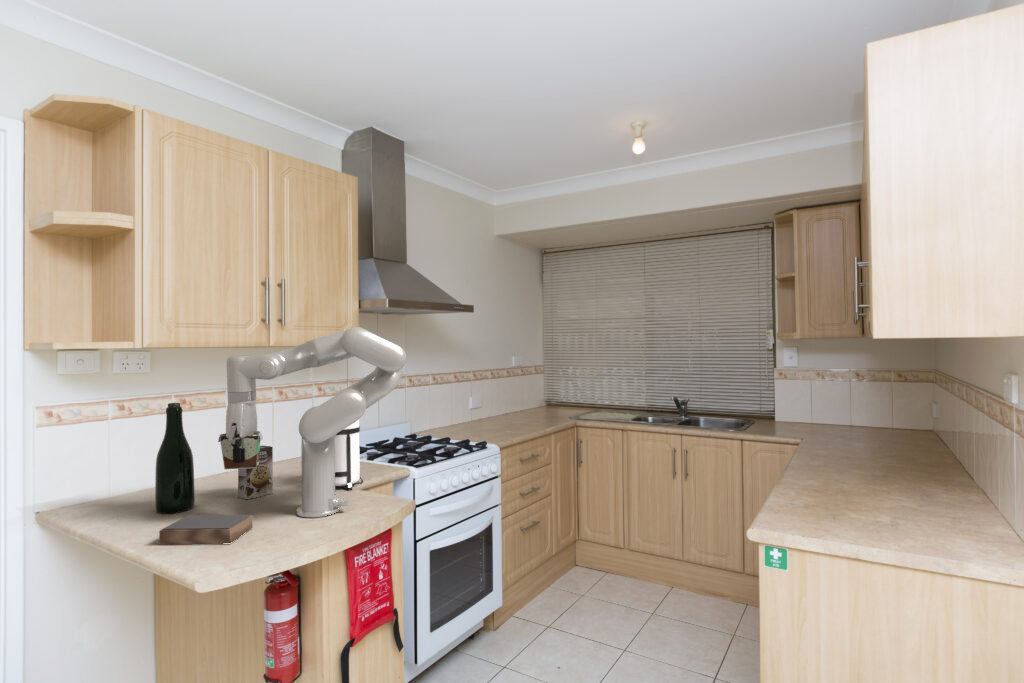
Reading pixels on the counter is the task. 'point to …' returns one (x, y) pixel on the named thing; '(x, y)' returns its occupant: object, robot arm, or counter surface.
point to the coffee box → (257, 476)
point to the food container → (251, 451)
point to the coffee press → (347, 456)
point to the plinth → (205, 529)
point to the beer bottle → (174, 467)
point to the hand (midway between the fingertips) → (244, 459)
